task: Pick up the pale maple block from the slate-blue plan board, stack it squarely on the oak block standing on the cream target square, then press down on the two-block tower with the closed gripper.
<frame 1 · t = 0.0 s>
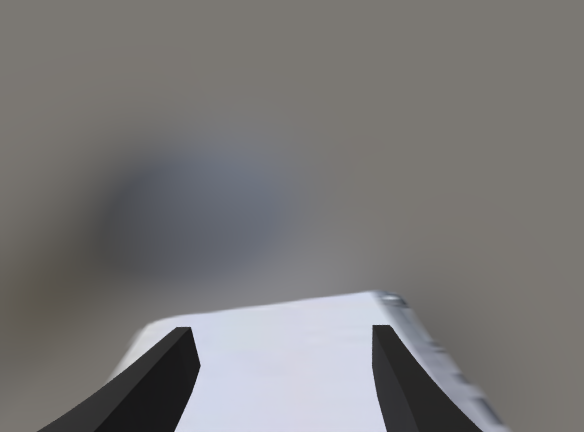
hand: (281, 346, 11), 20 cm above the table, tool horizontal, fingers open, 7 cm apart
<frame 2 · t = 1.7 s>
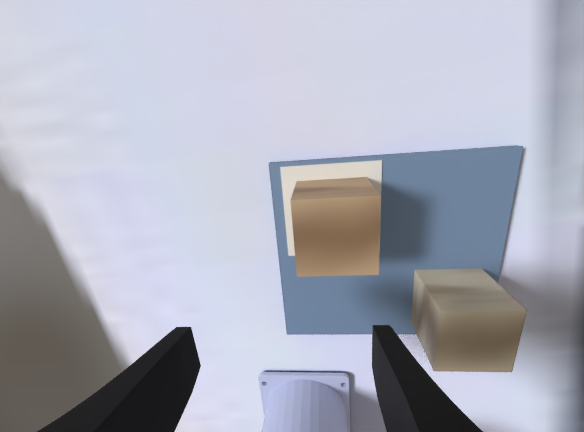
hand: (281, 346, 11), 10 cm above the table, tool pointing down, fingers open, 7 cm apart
maple block: (444, 295, 20), point 1 cm above the table, touching plan board
plan board: (384, 251, 20), on the table
oak block: (331, 211, 19), point 1 cm above the table, touching plan board
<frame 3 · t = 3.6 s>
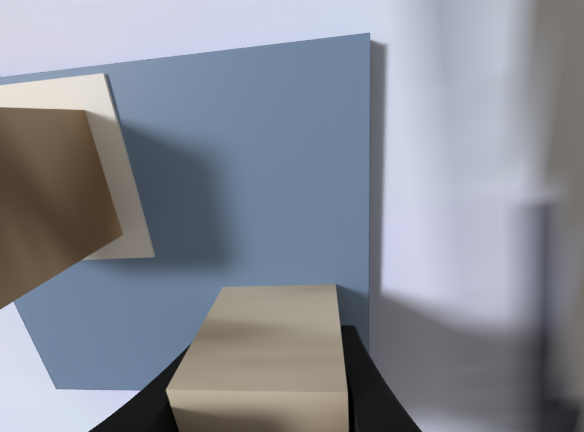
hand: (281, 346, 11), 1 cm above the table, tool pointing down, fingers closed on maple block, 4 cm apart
maple block: (283, 331, 12), point 1 cm above the table, touching gripper, plan board
plan board: (176, 254, 12), on the table
oak block: (48, 181, 10), point 1 cm above the table, touching plan board
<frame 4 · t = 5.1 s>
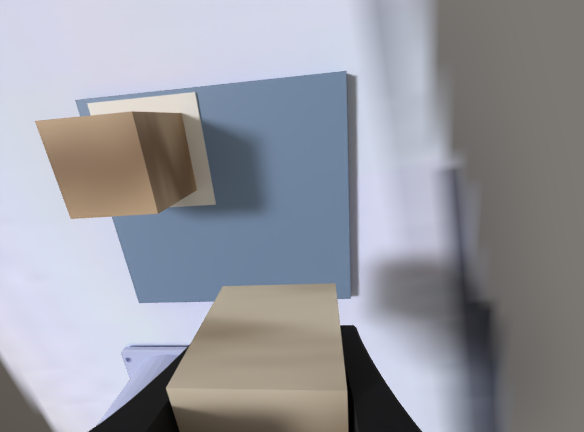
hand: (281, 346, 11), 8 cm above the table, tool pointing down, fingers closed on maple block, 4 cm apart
maple block: (283, 330, 12), point 8 cm above the table, touching gripper
plan board: (227, 204, 18), on the table
oak block: (153, 156, 17), point 1 cm above the table, touching plan board
when the fingers open (7 cm above the table, at t = 6.7 s): maple block stays where it is, resting on oak block.
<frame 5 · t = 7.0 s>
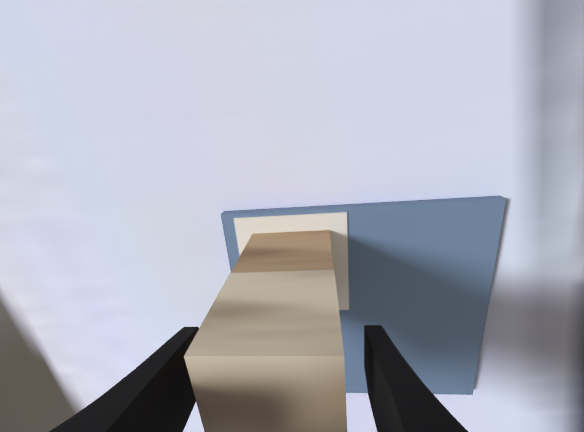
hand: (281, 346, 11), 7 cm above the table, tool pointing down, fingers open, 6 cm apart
maple block: (286, 314, 13), point 5 cm above the table, touching oak block
plan board: (355, 305, 18), on the table
oak block: (293, 266, 17), point 1 cm above the table, touching maple block, plan board
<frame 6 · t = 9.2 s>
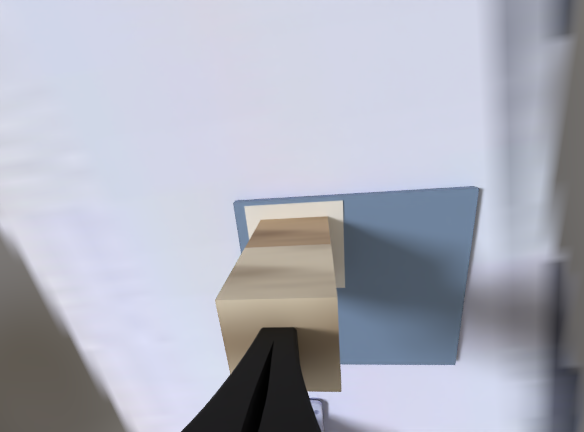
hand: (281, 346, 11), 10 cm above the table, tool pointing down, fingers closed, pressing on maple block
maple block: (291, 283, 15), point 5 cm above the table, touching gripper, oak block
plan board: (351, 285, 21), on the table
oak block: (296, 248, 19), point 1 cm above the table, touching maple block, plan board
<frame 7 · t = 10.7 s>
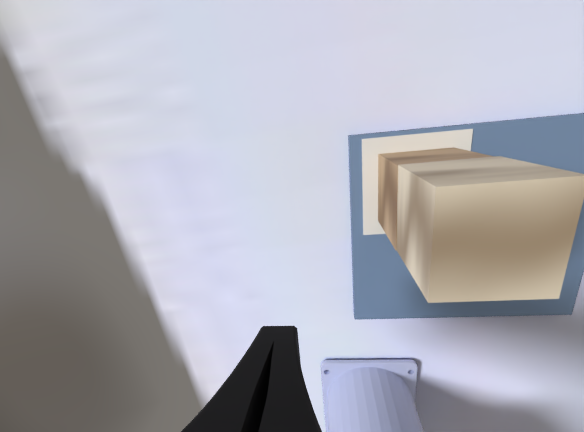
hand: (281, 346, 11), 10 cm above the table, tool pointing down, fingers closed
maple block: (444, 206, 14), point 5 cm above the table, touching oak block
plan board: (464, 228, 19), on the table
oak block: (413, 186, 18), point 1 cm above the table, touching maple block, plan board
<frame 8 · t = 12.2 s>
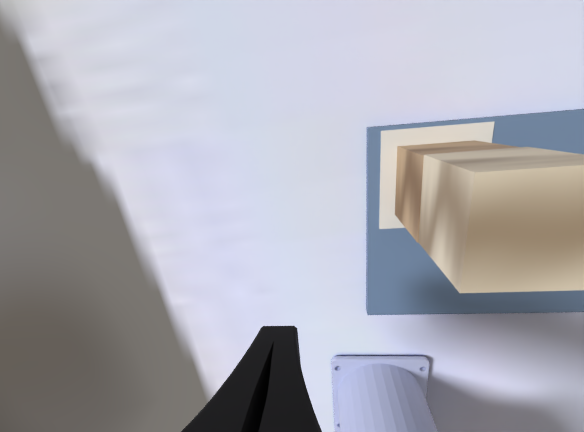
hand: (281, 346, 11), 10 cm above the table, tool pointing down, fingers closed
maple block: (469, 197, 14), point 5 cm above the table, touching oak block
plan board: (481, 223, 19), on the table
oak block: (432, 179, 18), point 1 cm above the table, touching maple block, plan board
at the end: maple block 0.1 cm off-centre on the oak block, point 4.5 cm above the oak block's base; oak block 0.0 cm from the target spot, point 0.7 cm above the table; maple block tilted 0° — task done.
